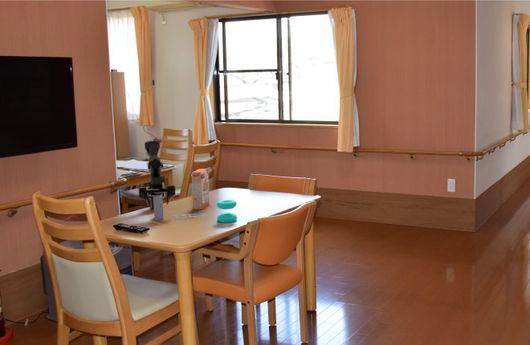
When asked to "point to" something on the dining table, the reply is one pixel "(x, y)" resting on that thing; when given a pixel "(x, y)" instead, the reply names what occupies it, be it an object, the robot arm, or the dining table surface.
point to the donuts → (226, 216)
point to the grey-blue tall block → (158, 207)
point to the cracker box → (200, 188)
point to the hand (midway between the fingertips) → (158, 204)
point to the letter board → (189, 215)
